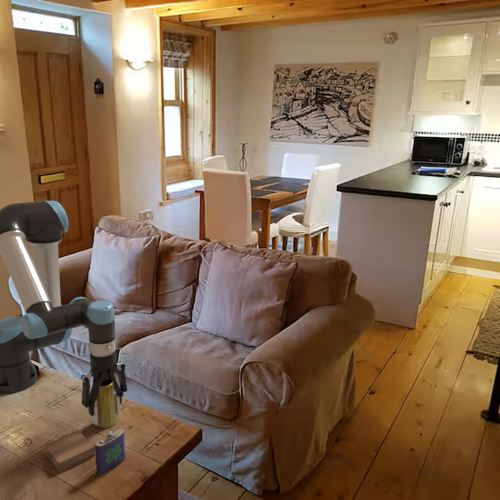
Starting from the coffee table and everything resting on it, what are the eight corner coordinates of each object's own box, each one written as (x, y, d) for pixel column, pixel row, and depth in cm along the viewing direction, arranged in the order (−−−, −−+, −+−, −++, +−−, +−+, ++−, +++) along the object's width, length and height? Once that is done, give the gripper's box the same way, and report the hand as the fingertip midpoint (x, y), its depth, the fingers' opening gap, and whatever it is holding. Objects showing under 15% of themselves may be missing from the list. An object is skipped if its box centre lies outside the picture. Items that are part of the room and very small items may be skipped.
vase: (104, 430, 146) (102, 389, 142) (92, 423, 149) (89, 382, 145) (120, 421, 150) (118, 381, 147) (108, 414, 154) (106, 374, 150)
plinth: (45, 454, 135) (44, 444, 134) (78, 438, 142) (78, 430, 141) (60, 472, 128) (59, 463, 127) (94, 455, 135) (94, 446, 134)
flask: (121, 454, 136) (120, 422, 133) (128, 459, 134) (127, 426, 131) (94, 472, 128) (92, 438, 126) (101, 477, 127) (99, 443, 124)
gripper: (77, 367, 134) (81, 437, 140) (138, 346, 148) (139, 411, 154) (65, 357, 139) (70, 425, 145) (125, 338, 153) (127, 401, 159)
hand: (106, 418), depth 149 cm, fingers open, 7 cm apart
